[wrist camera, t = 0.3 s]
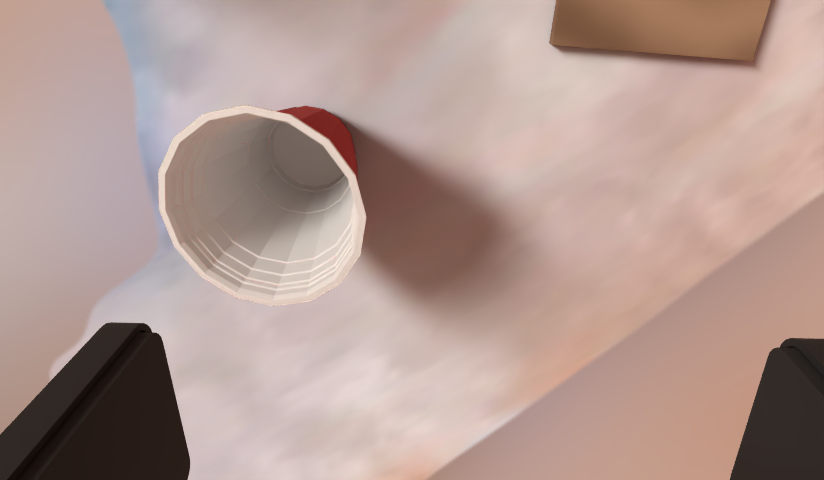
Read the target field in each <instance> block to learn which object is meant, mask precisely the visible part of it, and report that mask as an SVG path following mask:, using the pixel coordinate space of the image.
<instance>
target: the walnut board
mask: <svg viewBox="0 0 824 480" xmlns="http://www.w3.org/2000/svg"><path fill="white" fill-rule="evenodd" d="M770 2H771V0H556V5H555V11H554V18H553V24H552V30H551V36H550V42H549V43H550V44H551V45H558V46H570V47H583V48H595V49H608V50H621V51H633V52H646V53H658V54H671V55H684V56H696V57H709V58H721V59H734V60H746V61H753V57H754V54H755V51H756V48H757V45H758V41H759V38H760V35H761V32H762V28H763V25H764V22H765V19H766V15H767V12H768V9H769V6H770Z"/></svg>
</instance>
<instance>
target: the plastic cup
mask: <svg viewBox="0 0 824 480" xmlns="http://www.w3.org/2000/svg"><path fill="white" fill-rule="evenodd" d="M158 174H159V211H160V213H161V216H162V218H163V220H164V223H165V225H166V228H167V230H168V232H169V235H170V237H171V240H172V242H173V244H174V247H175V248H176V249H177V250H178V251H179V252H180V254H181V255H182V256H183V257H184V258H185V259H186V260H187V261H188V263H189V264H190V265H191V266H192V267H193V268H194V269H195V271H196V272H197V273H198V274H199V275H200V276H201V277H202V278H204V279H205V280H207V281H209V282H210V283H212V284H214V285H215V286H217V287H219V288H220V289H222V290H224V291H225V292H227V293H229V294H230V295H232V296H234V297H236V298H240V299H244V300H248V301H253V302H257V303H262V304H266V305H271V306H278V305H286V304H294V303H302V302H310V301H312V300H313V299H315V298H317V297H319V296H320V295H322V294H324V293H325V292H327V291H329V290H331V289H332V288H334V287H336V286H338V285H339V284H341V282H342V281H343V279H344V278H345V276H346V275H347V274H348V272H349V271H350V269H351V268H352V266H353V265H354V263H355V262H356V260H357V259H358V258H359V256H360V255H361V248H362V242H363V235H364V229H365V222H366V212H365V208H364V205H363V201H362V197H361V194H360V190H359V186H358V177H357V161H356V157H355V148H354V145H353V141H352V137H351V134H350V132H349V131H348V130H347V128H346V127H345V126H344V124H343V123H342V122H341V120H340V119H338V118H337V117H335V116H334V115H332V114H331V113H329V112H327V111H326V110H324V109H320V108H315V107H309V106H303V107H298V108H297V107H294V108H289V109H284V110H280V111H272V110H267V109H262V108H258V107H253V106H248V105H243V106H238V107H234V108H229V109H224V110H219V111H214V112H209V113H204V114H203V115H202V116H200V117H199V118H198V119H197V120H195V121H194V122H193V123H192V124H190V125H189V126H188V127H186V128H185V129H184V130H183V131H181V132H180V133H179V134H178V135H176V136H175V137H174V138H173V140H172V143H171V145H170V147H169V149H168V152H167V154H166V156H165V158H164V160H163V163H162V165H161V167H160V169H159V172H158Z"/></svg>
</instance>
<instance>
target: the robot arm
mask: <svg viewBox="0 0 824 480" xmlns="http://www.w3.org/2000/svg"><path fill="white" fill-rule="evenodd" d="M189 470H190V457H189V453H188V448H187V444H186V440H185V436H184V431H183V427H182V423H181V418H180V414H179V410H178V405H177V401H176V397H175V393H174V388H173V384H172V380H171V375H170V371H169V367H168V363H167V358H166V354H165V350H164V345H163V341H162V338H161V336H160V335H159V334H157V333H152V331H151V329H150V327H149V326H148V325H147V324H144V323H106V324H105V325H103V326H102V327H101V328H100V329H99V330H98V331H97V332H96V333H95V334H94V335H93V337H92V338H91V339H90V340H89V341H88V342H87V343H86V344H85V345H84V346H83V347H82V348H81V349H80V350H79V351H78V353H77V354H76V355H75V356H74V357H73V358H72V359H71V360H70V361H69V362H68V363H67V364H66V365H65V366H64V367H63V368H62V370H61V371H60V372H59V373H58V374H57V375H56V376H55V377H54V378H53V379H52V380H51V381H50V382H49V383H48V385H47V386H46V387H45V388H44V389H43V390H42V391H41V392H40V393H39V394H38V395H37V396H36V397H35V398H34V400H32V402H31V403H30V404H29V405H28V406H27V407H26V408H25V409H24V410H23V411H22V412H21V413H20V414H19V415H18V416H17V418H16V419H15V420H14V421H13V422H12V423H11V424H10V425H9V426H8V427H7V428H6V429H5V430H4V431H3V432H2V433H1V435H0V480H187V479H188V475H189ZM730 480H824V339H802V338H790V339H786V340H785V341H784V342H783V343H782V344H781V346H780V348H774V349H773V350H772V351H771V352H770V353H769V356H768V359H767V362H766V365H765V368H764V371H763V374H762V378H761V381H760V384H759V387H758V390H757V394H756V397H755V400H754V403H753V406H752V410H751V413H750V416H749V419H748V423H747V426H746V429H745V432H744V435H743V438H742V442H741V445H740V448H739V451H738V455H737V457H736V461H735V464H734V467H733V470H732V473H731V478H730Z"/></svg>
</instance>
